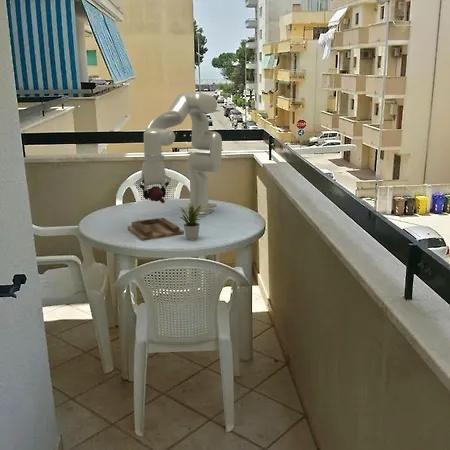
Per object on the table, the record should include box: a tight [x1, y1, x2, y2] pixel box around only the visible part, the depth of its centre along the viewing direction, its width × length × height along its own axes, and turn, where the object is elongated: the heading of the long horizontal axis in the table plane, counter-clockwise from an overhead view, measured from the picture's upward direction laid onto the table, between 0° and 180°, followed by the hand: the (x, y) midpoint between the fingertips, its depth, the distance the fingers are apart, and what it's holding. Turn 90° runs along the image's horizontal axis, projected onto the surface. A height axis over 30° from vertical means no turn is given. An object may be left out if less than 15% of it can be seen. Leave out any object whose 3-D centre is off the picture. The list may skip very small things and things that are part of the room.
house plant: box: [178, 203, 206, 240], centre depth 223 cm, size 14×14×16 cm
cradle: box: [127, 217, 185, 242], centre depth 234 cm, size 20×20×4 cm
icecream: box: [147, 185, 166, 204], centre depth 228 cm, size 7×7×15 cm
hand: (154, 197), depth 229 cm, fingers closed on icecream, 7 cm apart
